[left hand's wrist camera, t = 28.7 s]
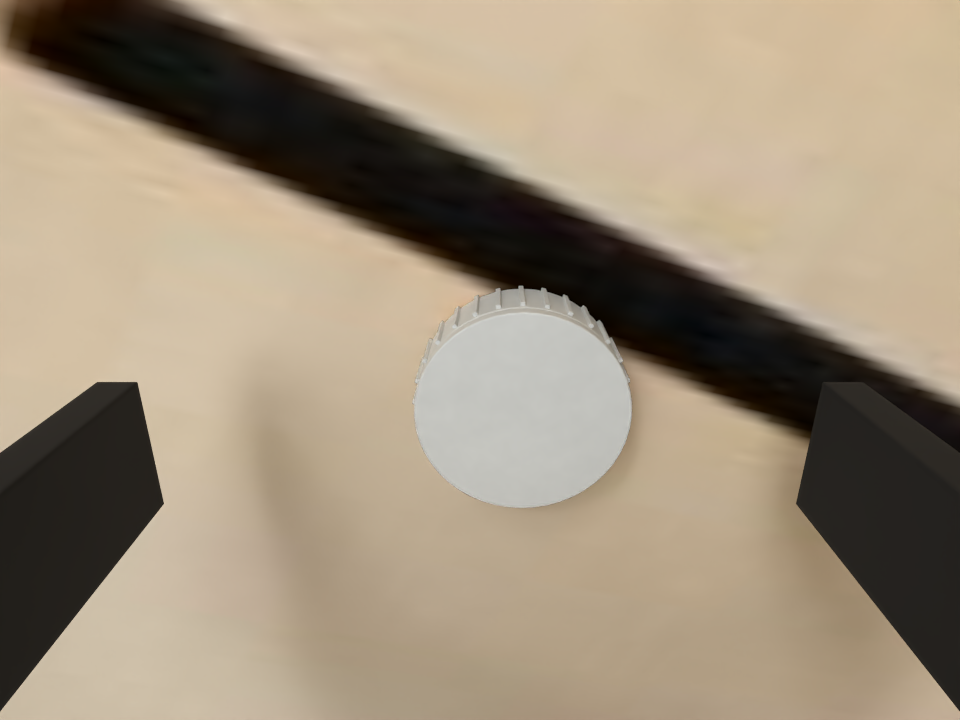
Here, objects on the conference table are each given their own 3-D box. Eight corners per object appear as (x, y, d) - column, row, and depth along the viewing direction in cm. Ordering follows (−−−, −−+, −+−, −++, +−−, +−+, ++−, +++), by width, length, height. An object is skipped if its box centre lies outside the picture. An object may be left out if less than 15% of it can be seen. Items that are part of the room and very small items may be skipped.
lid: (378, 364, 16) (363, 397, 14) (541, 241, 14) (548, 260, 13) (500, 500, 17) (501, 546, 15) (658, 398, 16) (679, 435, 14)
